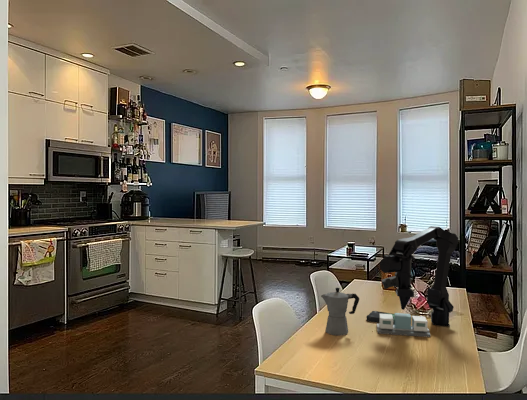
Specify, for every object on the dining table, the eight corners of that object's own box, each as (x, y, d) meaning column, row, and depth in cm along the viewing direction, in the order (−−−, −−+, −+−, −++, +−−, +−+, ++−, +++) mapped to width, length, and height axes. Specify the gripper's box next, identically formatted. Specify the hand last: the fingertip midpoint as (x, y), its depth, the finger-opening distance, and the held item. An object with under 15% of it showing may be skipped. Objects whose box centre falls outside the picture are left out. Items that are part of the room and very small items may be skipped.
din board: (426, 329, 182) (426, 315, 182) (430, 337, 172) (430, 322, 172) (376, 325, 186) (376, 312, 186) (377, 333, 176) (378, 319, 176)
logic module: (409, 325, 180) (409, 313, 180) (411, 329, 176) (411, 317, 176) (394, 324, 182) (394, 312, 182) (395, 328, 177) (395, 315, 177)
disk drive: (366, 322, 193) (400, 327, 186) (366, 315, 193) (400, 320, 186) (372, 316, 202) (405, 321, 195) (372, 310, 202) (405, 314, 195)
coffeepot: (322, 335, 172) (322, 290, 172) (319, 328, 182) (319, 284, 181) (361, 336, 173) (362, 290, 172) (356, 328, 182) (356, 285, 182)
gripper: (381, 266, 189) (381, 302, 189) (384, 274, 171) (383, 314, 171) (408, 267, 187) (408, 304, 187) (414, 275, 169) (413, 316, 169)
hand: (402, 309), depth 179 cm, fingers closed
